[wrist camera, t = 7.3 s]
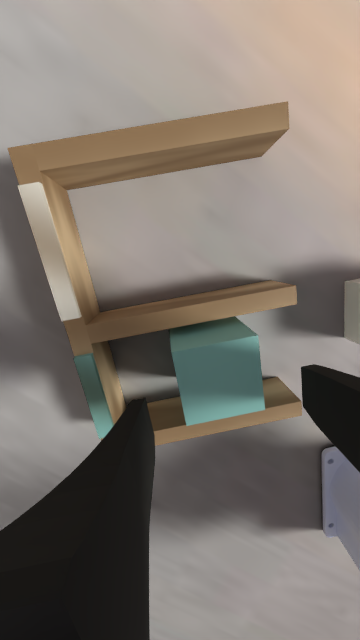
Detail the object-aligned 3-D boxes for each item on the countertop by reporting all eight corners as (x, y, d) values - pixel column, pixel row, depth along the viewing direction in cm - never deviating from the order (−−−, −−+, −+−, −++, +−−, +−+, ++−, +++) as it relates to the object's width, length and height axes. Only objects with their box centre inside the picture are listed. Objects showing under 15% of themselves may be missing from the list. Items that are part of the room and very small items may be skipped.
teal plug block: (235, 365, 17) (264, 409, 12) (179, 376, 17) (186, 425, 12) (228, 311, 16) (257, 335, 11) (168, 322, 15) (171, 352, 11)
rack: (278, 388, 17) (304, 418, 14) (115, 421, 17) (105, 459, 14) (259, 136, 13) (291, 96, 10) (42, 172, 13) (2, 144, 10)
